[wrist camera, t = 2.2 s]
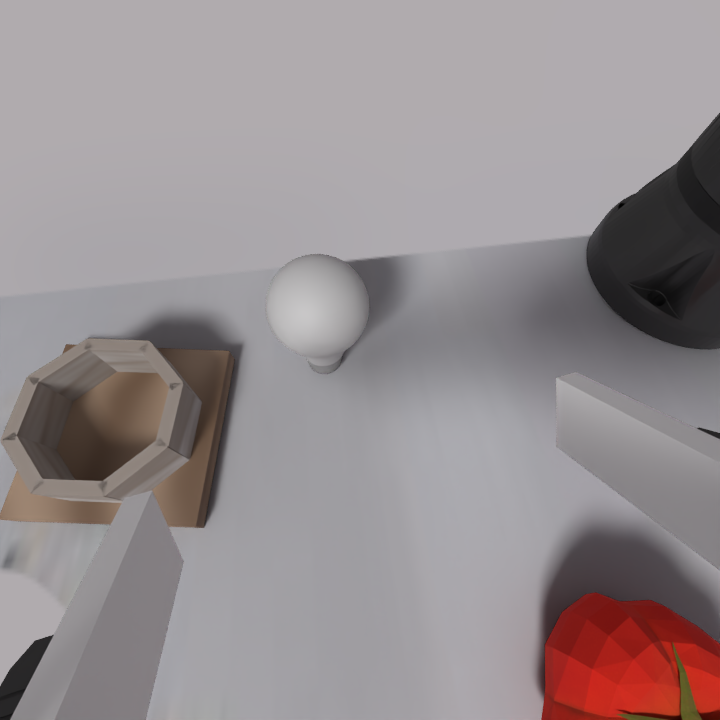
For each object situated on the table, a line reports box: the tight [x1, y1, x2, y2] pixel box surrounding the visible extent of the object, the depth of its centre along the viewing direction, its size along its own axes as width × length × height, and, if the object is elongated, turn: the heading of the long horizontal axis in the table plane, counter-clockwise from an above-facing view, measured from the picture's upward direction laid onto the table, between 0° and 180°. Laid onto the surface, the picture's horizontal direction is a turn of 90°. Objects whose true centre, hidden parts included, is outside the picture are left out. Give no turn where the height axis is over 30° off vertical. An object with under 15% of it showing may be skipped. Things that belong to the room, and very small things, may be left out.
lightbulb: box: [266, 254, 370, 374], centre depth 26 cm, size 6×6×11 cm
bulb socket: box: [0, 338, 235, 528], centre depth 26 cm, size 12×12×5 cm
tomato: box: [541, 593, 720, 720], centre depth 20 cm, size 10×11×6 cm
